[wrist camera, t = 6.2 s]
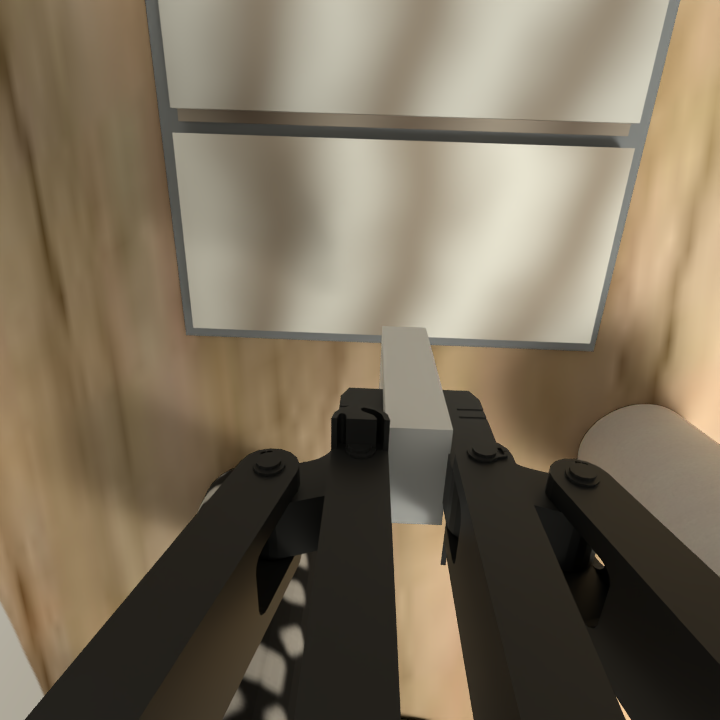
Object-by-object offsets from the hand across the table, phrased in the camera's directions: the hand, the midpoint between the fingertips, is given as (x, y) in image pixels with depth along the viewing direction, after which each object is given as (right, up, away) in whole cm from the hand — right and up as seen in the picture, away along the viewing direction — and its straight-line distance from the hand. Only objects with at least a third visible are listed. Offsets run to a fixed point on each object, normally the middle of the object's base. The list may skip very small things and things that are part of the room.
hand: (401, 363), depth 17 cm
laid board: (+1, +15, +3) cm, 16 cm away
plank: (0, +6, +7) cm, 9 cm away
